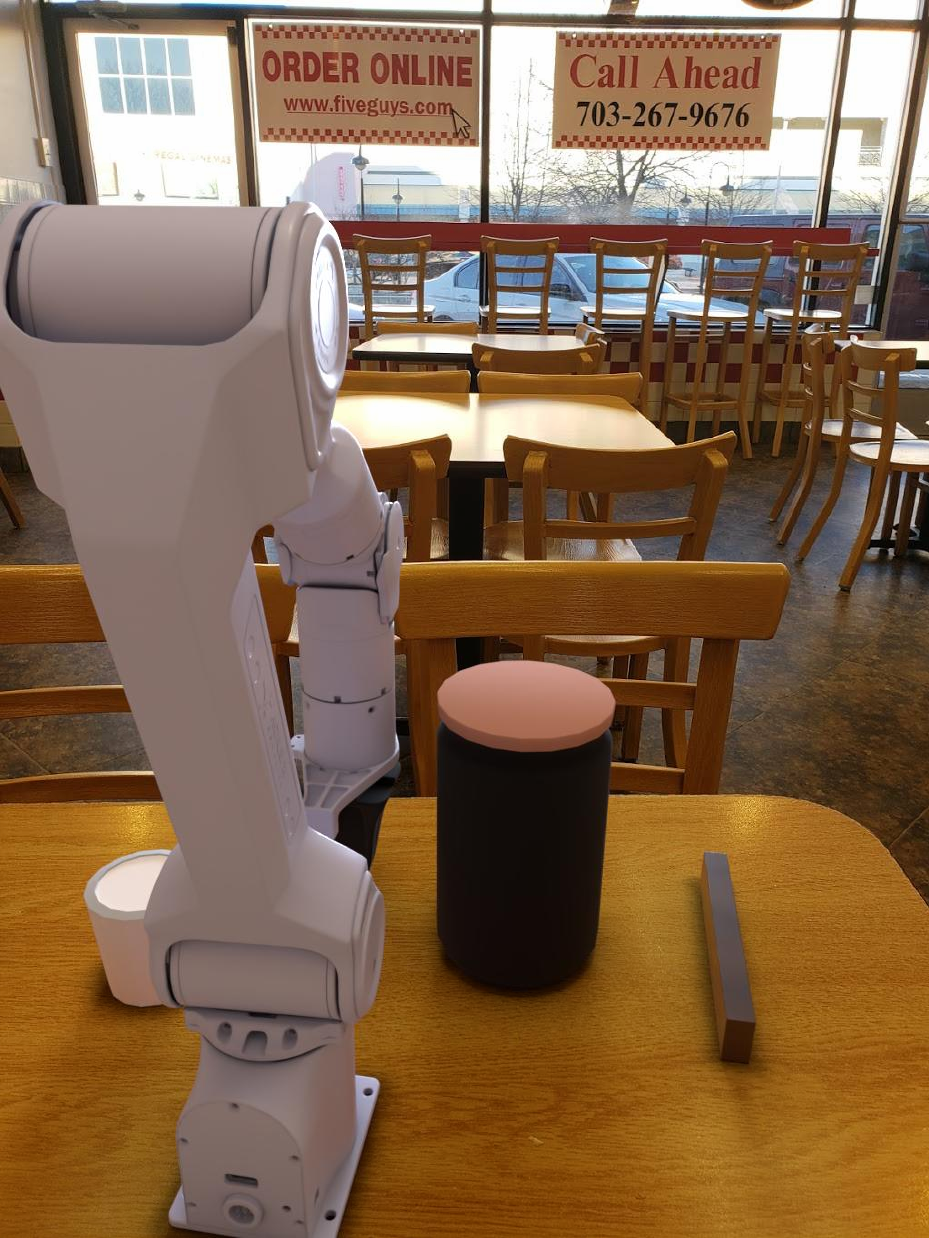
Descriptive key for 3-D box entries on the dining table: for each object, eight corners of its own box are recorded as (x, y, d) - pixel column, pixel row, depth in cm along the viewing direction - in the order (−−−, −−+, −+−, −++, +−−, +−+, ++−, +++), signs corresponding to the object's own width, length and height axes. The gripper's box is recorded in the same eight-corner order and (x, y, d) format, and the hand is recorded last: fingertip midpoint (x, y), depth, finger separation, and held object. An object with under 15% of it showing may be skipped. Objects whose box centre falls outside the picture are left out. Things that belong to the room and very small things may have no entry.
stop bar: (749, 1063, 53) (756, 1022, 52) (720, 1059, 53) (726, 1018, 52) (722, 888, 68) (726, 853, 67) (699, 885, 68) (703, 850, 67)
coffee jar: (594, 894, 67) (612, 663, 60) (599, 1005, 57) (621, 743, 50) (445, 883, 68) (447, 655, 61) (425, 991, 58) (424, 732, 51)
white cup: (195, 1015, 56) (183, 920, 53) (80, 1012, 56) (63, 917, 53) (224, 937, 62) (216, 848, 60) (122, 935, 62) (108, 846, 60)
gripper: (320, 634, 65) (328, 803, 70) (241, 733, 51) (258, 934, 56) (420, 641, 64) (421, 813, 69) (367, 744, 50) (372, 947, 55)
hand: (354, 868), depth 62 cm, fingers closed
